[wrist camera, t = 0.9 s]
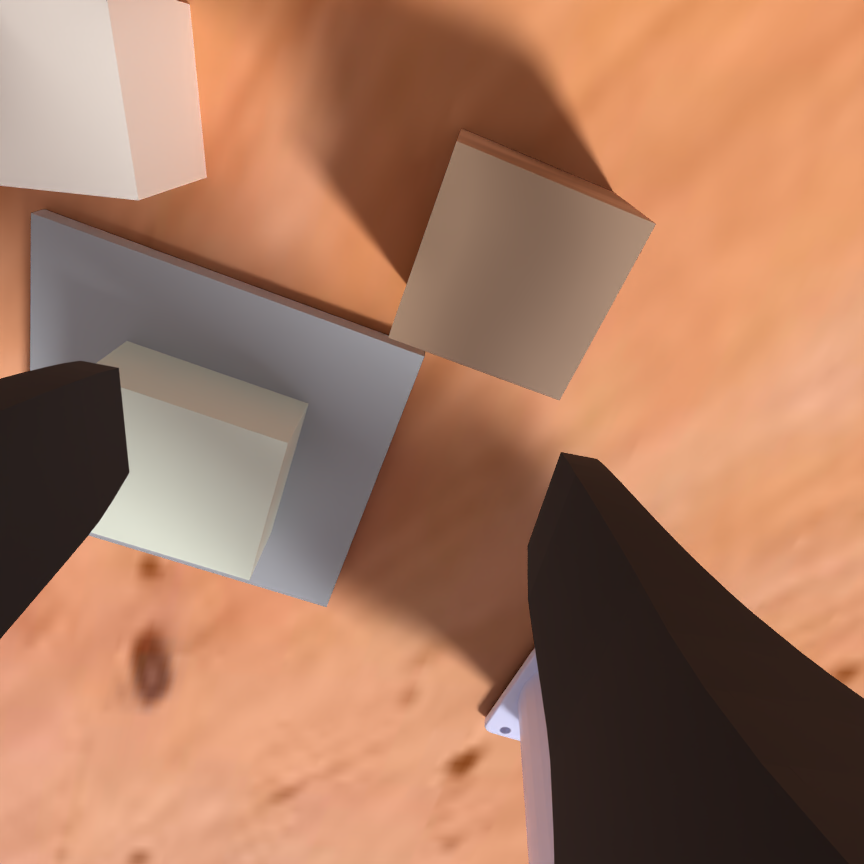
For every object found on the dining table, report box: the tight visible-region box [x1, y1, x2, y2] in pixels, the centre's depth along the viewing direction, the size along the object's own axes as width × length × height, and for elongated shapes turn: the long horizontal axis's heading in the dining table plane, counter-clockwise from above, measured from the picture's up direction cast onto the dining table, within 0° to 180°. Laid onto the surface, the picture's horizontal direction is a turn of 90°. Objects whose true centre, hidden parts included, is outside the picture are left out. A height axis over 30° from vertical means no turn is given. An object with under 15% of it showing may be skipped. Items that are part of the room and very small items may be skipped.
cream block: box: [0, 0, 207, 200], centre depth 14 cm, size 4×4×4 cm
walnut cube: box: [388, 128, 656, 400], centre depth 15 cm, size 4×4×4 cm
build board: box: [30, 209, 425, 607], centre depth 21 cm, size 12×12×1 cm
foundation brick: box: [91, 341, 308, 580], centre depth 19 cm, size 6×6×2 cm
